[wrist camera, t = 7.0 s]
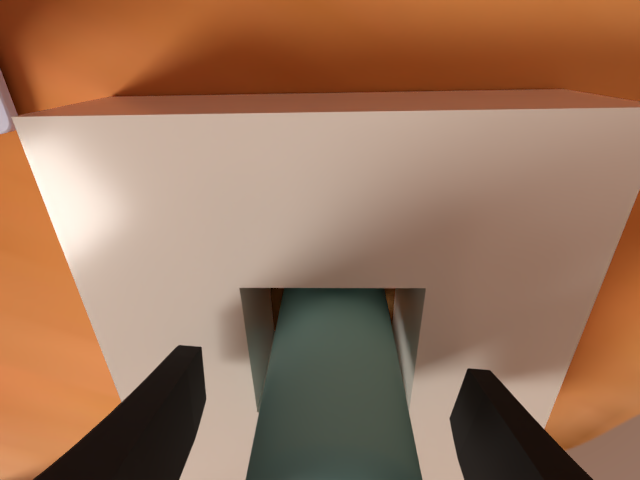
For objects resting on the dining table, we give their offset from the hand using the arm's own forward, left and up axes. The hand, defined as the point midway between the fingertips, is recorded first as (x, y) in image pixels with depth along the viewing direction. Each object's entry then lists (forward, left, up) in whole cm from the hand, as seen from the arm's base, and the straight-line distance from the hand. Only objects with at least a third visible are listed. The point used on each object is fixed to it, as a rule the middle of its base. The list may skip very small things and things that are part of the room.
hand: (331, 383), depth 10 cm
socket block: (0, 0, -5) cm, 5 cm away
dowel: (0, 0, -5) cm, 5 cm away
